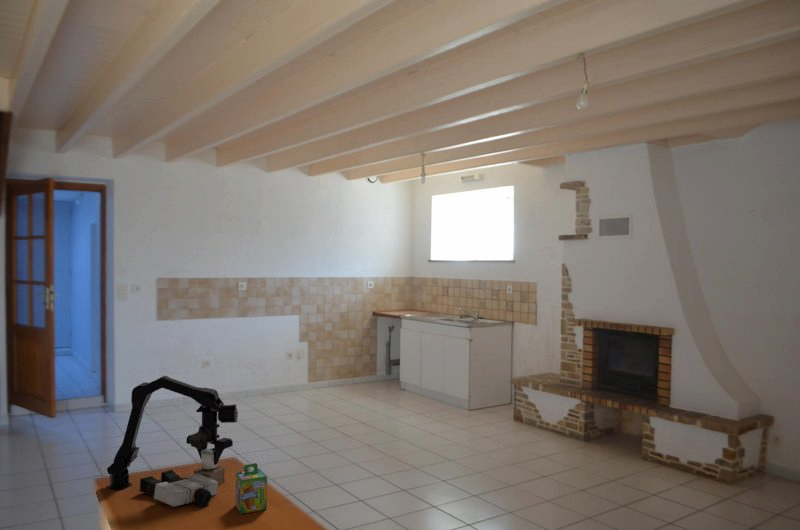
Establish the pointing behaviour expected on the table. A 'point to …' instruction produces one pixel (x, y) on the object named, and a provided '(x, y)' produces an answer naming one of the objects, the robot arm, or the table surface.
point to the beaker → (207, 459)
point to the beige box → (213, 473)
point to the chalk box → (251, 490)
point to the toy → (180, 488)
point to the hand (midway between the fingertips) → (209, 463)
